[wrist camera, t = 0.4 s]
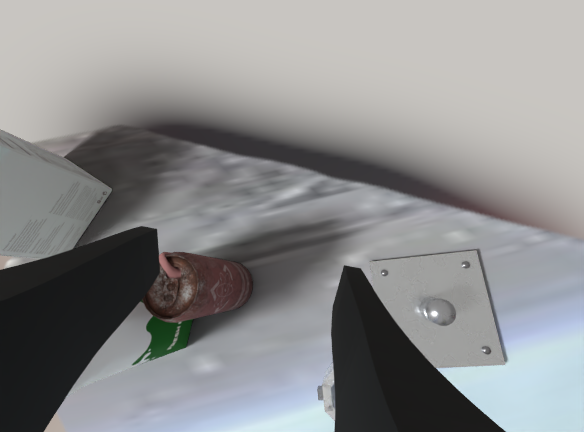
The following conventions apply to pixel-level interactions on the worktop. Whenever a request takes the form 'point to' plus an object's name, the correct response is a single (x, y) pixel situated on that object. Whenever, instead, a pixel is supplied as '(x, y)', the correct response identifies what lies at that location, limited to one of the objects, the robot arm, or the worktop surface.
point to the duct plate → (441, 307)
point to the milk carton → (135, 345)
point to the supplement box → (43, 200)
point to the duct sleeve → (328, 392)
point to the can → (196, 287)
